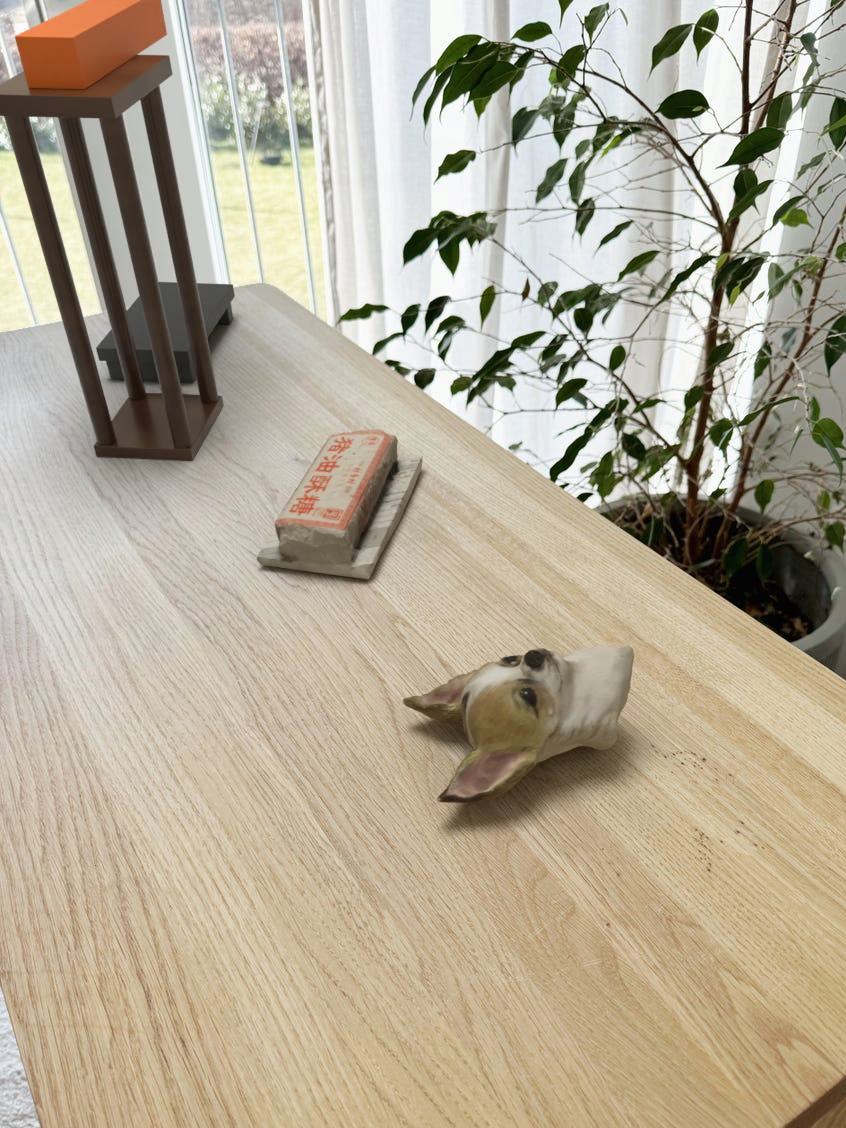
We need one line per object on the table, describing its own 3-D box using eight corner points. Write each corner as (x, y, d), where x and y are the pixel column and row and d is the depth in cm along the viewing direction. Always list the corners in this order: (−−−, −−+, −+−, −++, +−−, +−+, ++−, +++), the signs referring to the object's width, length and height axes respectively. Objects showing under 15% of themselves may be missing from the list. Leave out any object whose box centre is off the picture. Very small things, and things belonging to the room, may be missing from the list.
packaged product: (367, 535, 79) (248, 521, 81) (372, 584, 83) (257, 569, 84) (422, 424, 93) (319, 413, 94) (424, 469, 96) (325, 458, 97)
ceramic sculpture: (669, 683, 61) (431, 746, 58) (660, 776, 67) (444, 837, 64) (603, 580, 69) (390, 632, 66) (600, 672, 74) (405, 722, 72)
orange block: (119, 34, 92) (110, -11, 90) (167, 35, 92) (159, -11, 89) (28, 88, 77) (14, 36, 75) (85, 89, 77) (72, 37, 74)
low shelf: (158, 313, 123) (150, 281, 120) (238, 316, 122) (233, 284, 119) (104, 382, 109) (95, 347, 106) (194, 386, 109) (187, 351, 106)
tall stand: (139, 392, 107) (55, 52, 86) (230, 396, 107) (169, 55, 86) (90, 461, 97) (-19, 94, 76) (191, 466, 96) (110, 97, 75)
